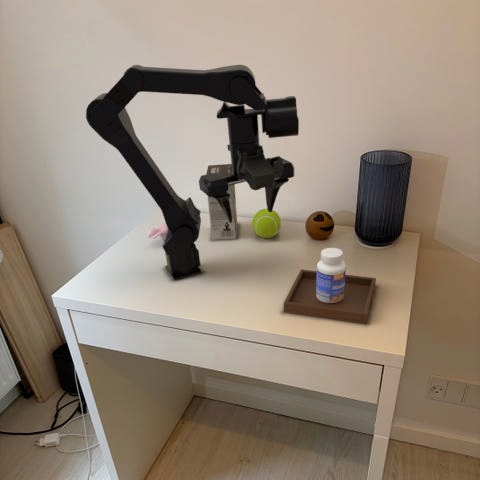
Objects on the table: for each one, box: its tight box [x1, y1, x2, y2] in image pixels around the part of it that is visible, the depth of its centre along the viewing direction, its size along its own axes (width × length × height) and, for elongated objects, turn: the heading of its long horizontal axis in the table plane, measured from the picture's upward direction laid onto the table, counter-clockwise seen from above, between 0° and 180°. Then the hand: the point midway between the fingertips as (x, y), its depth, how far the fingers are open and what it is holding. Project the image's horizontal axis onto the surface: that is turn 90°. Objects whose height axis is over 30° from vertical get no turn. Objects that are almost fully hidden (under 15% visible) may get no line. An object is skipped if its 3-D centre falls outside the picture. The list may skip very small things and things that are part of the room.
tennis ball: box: [251, 208, 282, 239], centre depth 119 cm, size 7×7×7 cm
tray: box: [283, 268, 377, 325], centre depth 95 cm, size 15×13×2 cm
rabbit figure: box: [147, 222, 168, 240], centre depth 122 cm, size 6×6×15 cm
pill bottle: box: [316, 247, 347, 303], centre depth 92 cm, size 5×5×10 cm
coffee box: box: [206, 163, 238, 241], centre depth 120 cm, size 9×6×16 cm
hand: (250, 216), depth 101 cm, fingers open, 9 cm apart
